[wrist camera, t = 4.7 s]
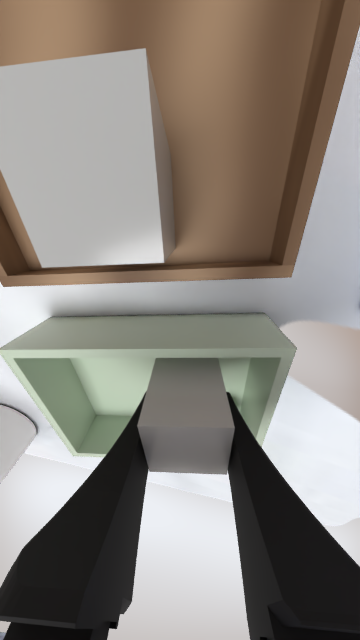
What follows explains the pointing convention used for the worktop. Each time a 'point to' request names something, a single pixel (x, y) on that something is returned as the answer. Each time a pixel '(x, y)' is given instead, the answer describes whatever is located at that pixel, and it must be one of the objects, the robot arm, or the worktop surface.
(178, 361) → the grey rectangular block
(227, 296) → the worktop surface
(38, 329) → the green bin
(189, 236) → the walnut tray
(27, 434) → the pill bottle
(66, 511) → the robot arm
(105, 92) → the stone
